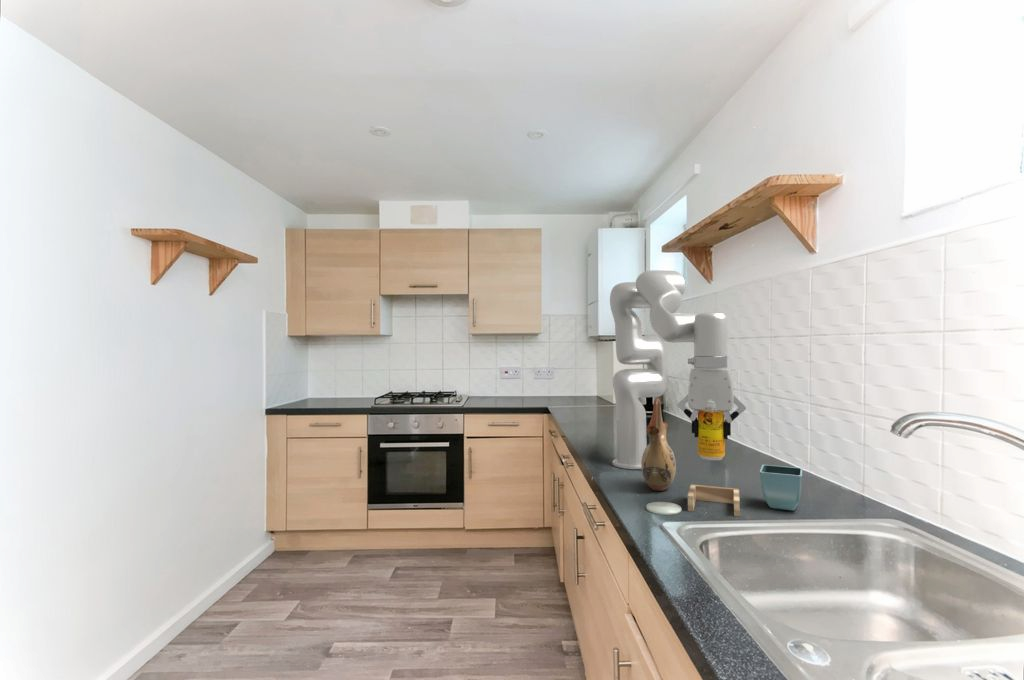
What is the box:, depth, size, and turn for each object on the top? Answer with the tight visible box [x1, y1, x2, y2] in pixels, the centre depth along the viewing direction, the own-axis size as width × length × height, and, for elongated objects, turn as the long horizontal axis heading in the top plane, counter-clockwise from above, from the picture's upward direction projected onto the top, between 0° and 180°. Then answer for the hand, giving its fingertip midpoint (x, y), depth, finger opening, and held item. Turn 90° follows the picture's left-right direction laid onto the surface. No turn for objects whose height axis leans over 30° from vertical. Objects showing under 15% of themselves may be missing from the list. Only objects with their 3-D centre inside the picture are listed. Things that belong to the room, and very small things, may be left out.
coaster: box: [646, 501, 682, 516], centre depth 119 cm, size 8×8×1 cm
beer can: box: [697, 400, 726, 461], centre depth 121 cm, size 6×6×15 cm
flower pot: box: [759, 464, 803, 511], centre depth 120 cm, size 9×9×9 cm
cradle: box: [687, 484, 741, 517], centre depth 120 cm, size 11×11×4 cm
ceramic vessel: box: [641, 397, 677, 492], centre depth 136 cm, size 16×9×25 cm, turn 154°
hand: (711, 436), depth 121 cm, fingers closed on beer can, 6 cm apart
